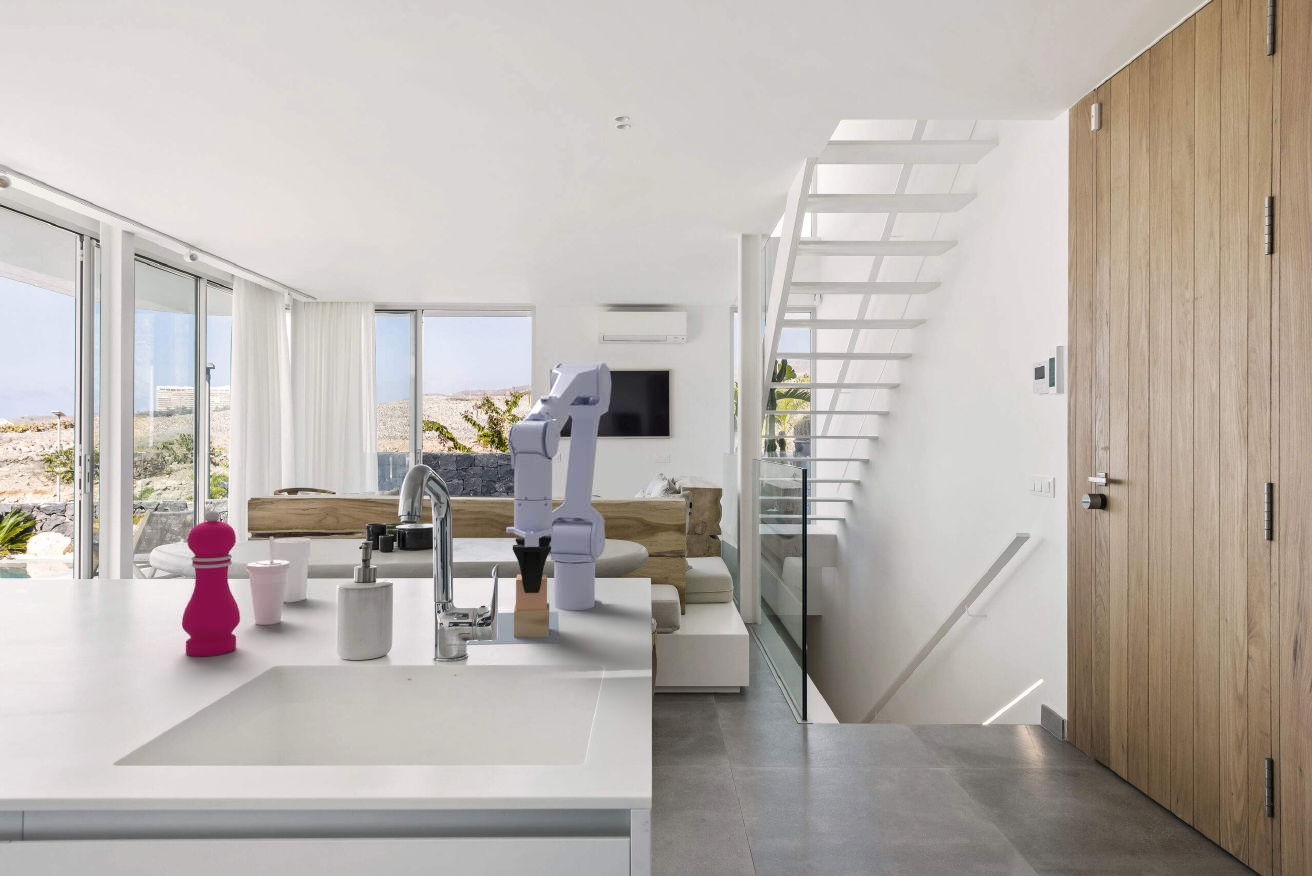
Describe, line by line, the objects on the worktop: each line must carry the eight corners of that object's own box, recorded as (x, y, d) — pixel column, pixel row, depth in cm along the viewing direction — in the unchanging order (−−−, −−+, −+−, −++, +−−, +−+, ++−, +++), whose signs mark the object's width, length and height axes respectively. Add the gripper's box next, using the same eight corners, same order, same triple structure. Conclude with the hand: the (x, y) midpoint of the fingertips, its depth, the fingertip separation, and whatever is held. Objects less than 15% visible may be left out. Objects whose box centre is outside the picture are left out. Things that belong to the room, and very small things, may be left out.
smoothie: (272, 627, 127) (272, 539, 127) (236, 625, 129) (237, 538, 128) (297, 618, 134) (298, 534, 133) (264, 616, 135) (264, 533, 135)
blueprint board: (461, 618, 135) (461, 613, 135) (557, 616, 137) (557, 611, 137) (446, 650, 115) (446, 645, 115) (558, 647, 117) (558, 642, 117)
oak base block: (515, 629, 125) (515, 603, 125) (549, 628, 126) (549, 602, 126) (513, 637, 120) (514, 610, 120) (549, 636, 120) (549, 610, 120)
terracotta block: (517, 603, 125) (517, 574, 125) (546, 603, 125) (547, 573, 125) (515, 610, 120) (516, 579, 120) (546, 609, 121) (547, 579, 121)
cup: (273, 596, 151) (274, 538, 151) (311, 594, 153) (312, 537, 153) (268, 604, 145) (268, 543, 144) (307, 602, 146) (308, 541, 146)
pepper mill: (174, 659, 110) (175, 513, 109) (190, 645, 116) (191, 508, 116) (233, 656, 111) (234, 512, 111) (244, 642, 118) (245, 507, 118)
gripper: (509, 495, 129) (508, 579, 129) (503, 503, 115) (503, 597, 115) (553, 494, 130) (552, 578, 130) (553, 503, 116) (552, 597, 116)
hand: (532, 587), depth 123 cm, fingers open, 7 cm apart
